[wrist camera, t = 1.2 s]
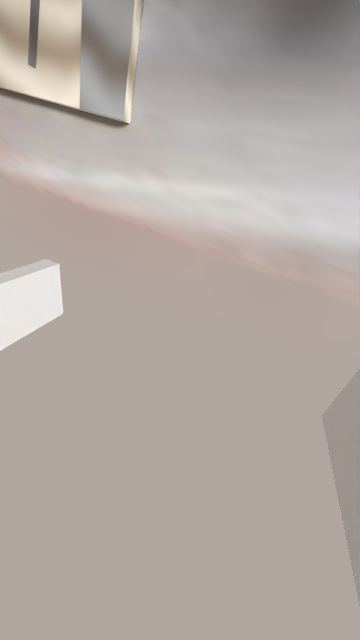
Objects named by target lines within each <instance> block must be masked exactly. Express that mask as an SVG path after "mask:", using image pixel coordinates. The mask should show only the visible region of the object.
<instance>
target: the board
mask: <svg viewBox="0 0 360 640" xmlns="http://www.w3.org/2000/svg"><path fill="white" fill-rule="evenodd" d="M142 8H143V0H0V88H1V89H5V90H8V91H12V92H16V93H19V94H23V95H27V96H30V97H34V98H37V99H41V100H45V101H48V102H52V103H56V104H59V105H63V106H67V107H70V108H74V109H78V110H81V111H85V112H88V113H92V114H96V115H99V116H103V117H107V118H110V119H114V120H118V121H121V122H125V123H129V124H130V119H131V110H132V101H133V92H134V82H135V73H136V64H137V55H138V45H139V36H140V27H141V18H142Z"/></svg>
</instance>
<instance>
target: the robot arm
mask: <svg viewBox="0 0 360 640" xmlns="http://www.w3.org/2000/svg"><path fill="white" fill-rule="evenodd" d="M62 304H63V303H62V291H61V279H60V268H59V263H56V262H53V261H50V260H47V259H44V260H41V261H38V262H34V263H31V264H28V265H25V266H21V267H18V268H15V269H12V270H8V271H5V272H2V273H0V350H2V349H4V348H5V347H7V346H9V345H11V344H12V343H14V342H16V341H17V340H19V339H21V338H23V337H24V336H26V335H28V334H29V333H31V332H33V331H34V330H36V329H37V328H39V327H41V326H43V325H45V324H46V323H48V322H50V321H51V320H53V319H55V318H57V317H58V316H60V315H62V314H63V305H62ZM322 418H323V423H324V428H325V434H326V439H327V443H328V449H329V454H330V458H331V464H332V469H333V474H334V479H335V484H336V489H337V494H338V499H339V504H340V509H341V514H342V519H343V524H344V529H345V535H346V540H347V545H348V549H349V555H350V560H351V565H352V570H353V575H354V580H355V585H356V590H357V595H358V599H359V605H360V369H359V371H358V372H357V373H356V374H355V375H354V377H353V378H352V379H351V380H350V382H349V383H348V384H347V385H346V386H345V388H344V389H343V390H342V391H341V393H340V394H339V395H338V396H337V397H336V399H335V400H334V401H333V402H332V404H331V405H330V406H329V407H328V409H327V410H326V411H325V412H324V413H323V415H322Z"/></svg>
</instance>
